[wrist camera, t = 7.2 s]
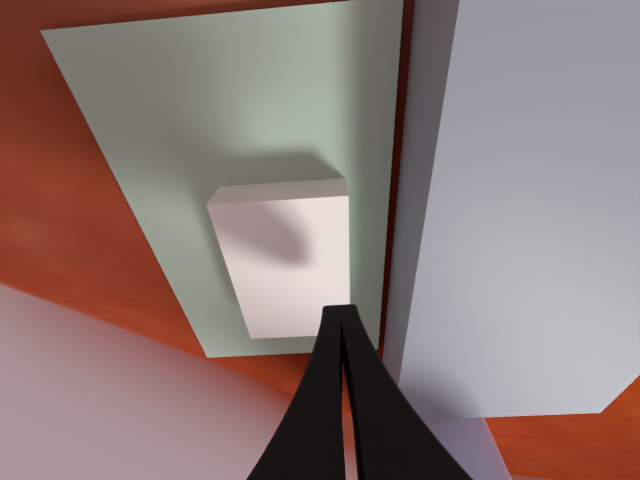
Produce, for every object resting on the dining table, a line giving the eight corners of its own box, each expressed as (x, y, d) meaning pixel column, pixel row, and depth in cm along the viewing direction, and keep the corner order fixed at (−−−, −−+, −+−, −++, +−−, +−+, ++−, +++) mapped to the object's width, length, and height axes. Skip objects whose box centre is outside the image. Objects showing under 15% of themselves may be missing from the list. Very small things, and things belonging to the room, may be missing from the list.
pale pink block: (250, 338, 17) (256, 312, 18) (350, 334, 16) (347, 308, 18) (206, 204, 12) (220, 186, 13) (348, 195, 11) (344, 177, 13)
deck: (557, 358, 22) (600, 412, 19) (381, 366, 23) (392, 420, 19) (869, -90, 9) (1213, -181, 5) (418, -44, 9) (476, -101, 6)
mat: (377, 344, 21) (378, 349, 21) (209, 352, 21) (207, 357, 21) (400, -3, 10) (403, -5, 9) (48, 31, 10) (39, 30, 10)
